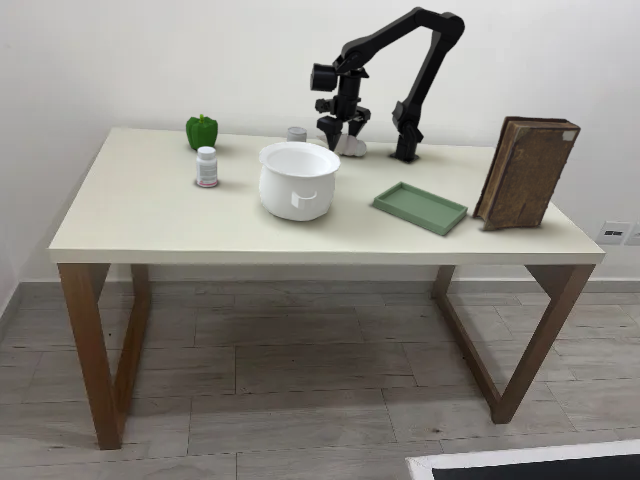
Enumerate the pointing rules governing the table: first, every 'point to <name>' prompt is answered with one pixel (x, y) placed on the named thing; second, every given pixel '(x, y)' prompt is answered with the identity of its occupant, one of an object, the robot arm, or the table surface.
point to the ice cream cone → (348, 145)
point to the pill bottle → (206, 167)
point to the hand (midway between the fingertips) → (340, 148)
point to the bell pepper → (201, 132)
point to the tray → (421, 207)
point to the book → (525, 171)
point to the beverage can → (296, 134)
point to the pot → (297, 179)
